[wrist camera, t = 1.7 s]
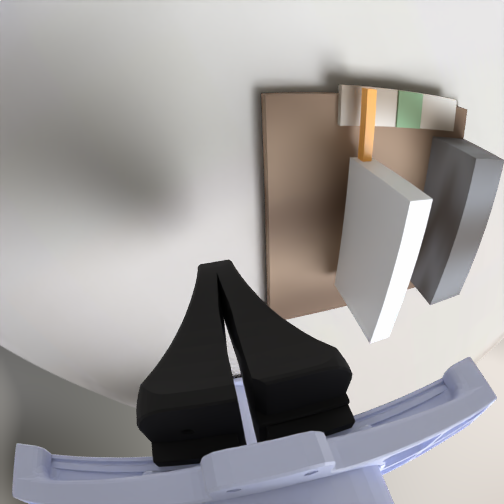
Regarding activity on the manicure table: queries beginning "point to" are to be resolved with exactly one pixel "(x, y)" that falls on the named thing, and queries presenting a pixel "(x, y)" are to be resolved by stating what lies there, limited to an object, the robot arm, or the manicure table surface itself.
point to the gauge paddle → (378, 234)
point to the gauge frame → (336, 180)
